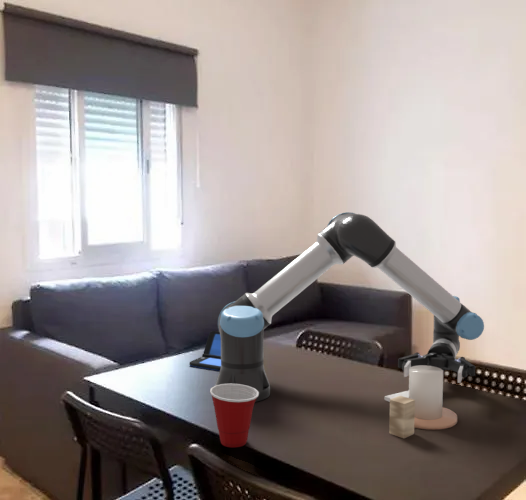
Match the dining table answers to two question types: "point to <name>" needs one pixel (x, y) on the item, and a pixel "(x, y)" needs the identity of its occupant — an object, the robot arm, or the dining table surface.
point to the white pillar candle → (426, 391)
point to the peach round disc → (437, 421)
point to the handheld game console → (210, 353)
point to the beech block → (402, 416)
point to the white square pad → (404, 394)
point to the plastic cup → (233, 412)
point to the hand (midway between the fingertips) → (431, 374)
